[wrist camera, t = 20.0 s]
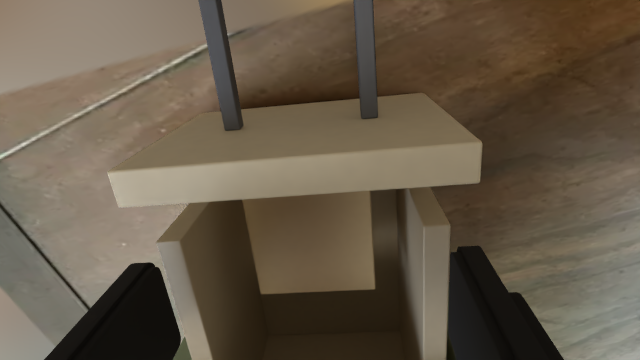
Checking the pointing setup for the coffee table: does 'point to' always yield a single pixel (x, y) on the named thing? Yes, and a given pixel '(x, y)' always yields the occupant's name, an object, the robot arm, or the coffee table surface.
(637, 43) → the coffee table surface
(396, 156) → the drawer
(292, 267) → the block
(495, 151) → the coffee table surface
